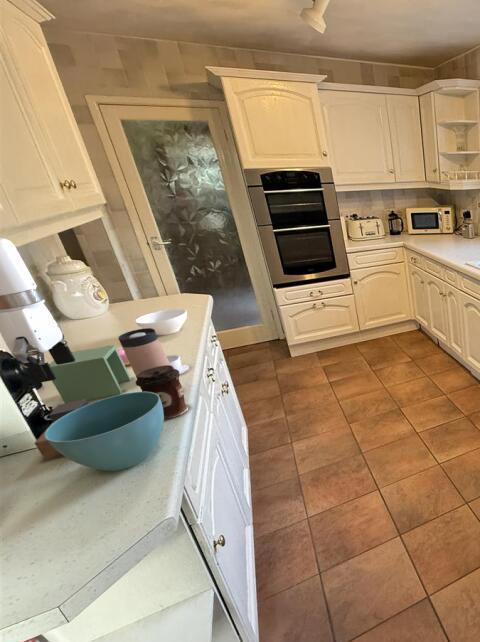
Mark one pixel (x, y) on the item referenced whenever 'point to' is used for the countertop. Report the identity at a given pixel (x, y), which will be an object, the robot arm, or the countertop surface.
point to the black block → (67, 409)
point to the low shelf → (47, 448)
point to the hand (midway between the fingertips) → (56, 371)
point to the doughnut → (124, 357)
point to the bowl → (163, 321)
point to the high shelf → (90, 374)
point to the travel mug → (143, 349)
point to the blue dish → (110, 431)
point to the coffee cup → (164, 388)
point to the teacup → (177, 363)
